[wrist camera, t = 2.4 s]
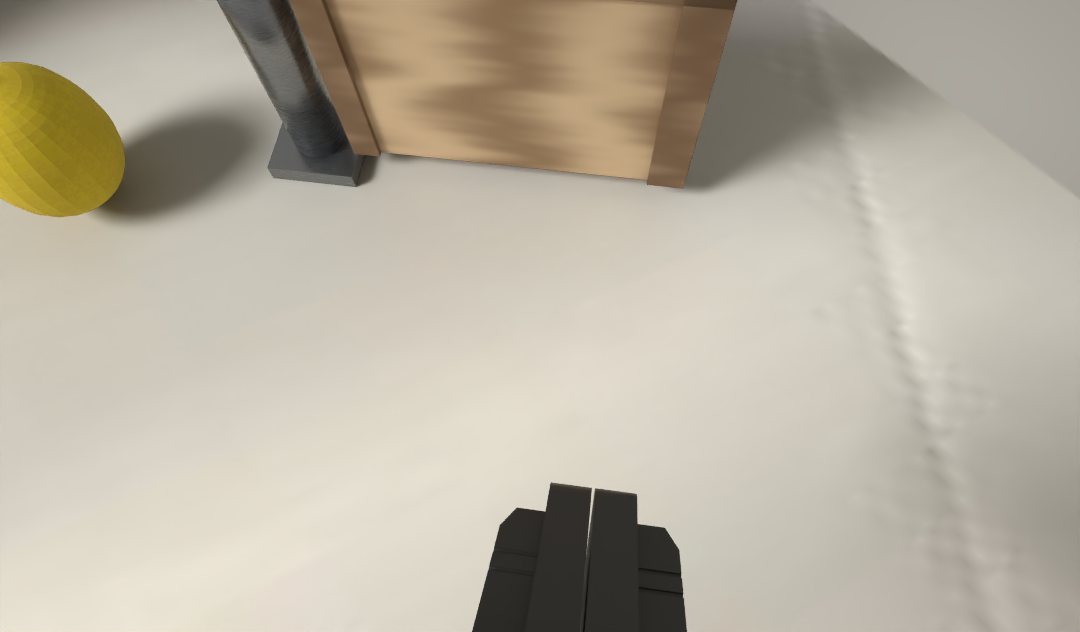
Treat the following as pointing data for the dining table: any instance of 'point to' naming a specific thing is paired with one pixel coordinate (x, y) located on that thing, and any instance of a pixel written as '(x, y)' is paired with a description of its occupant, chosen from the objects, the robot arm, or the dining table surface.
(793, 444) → the dining table surface
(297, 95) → the grey upright posts
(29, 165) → the lemon
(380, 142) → the gate
